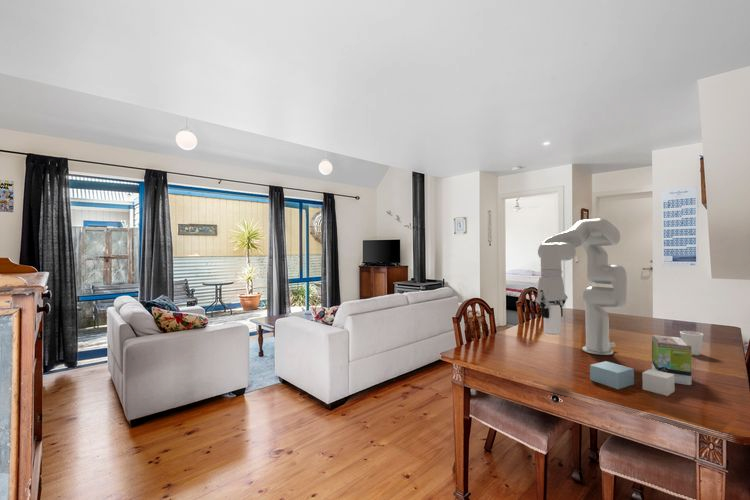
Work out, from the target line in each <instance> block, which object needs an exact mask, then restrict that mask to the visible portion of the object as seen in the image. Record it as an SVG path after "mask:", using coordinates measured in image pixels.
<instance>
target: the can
mask: <svg viewBox="0 0 750 500" xmlns="http://www.w3.org/2000/svg"><path fill="white" fill-rule="evenodd" d="M544 304H545V303H544ZM547 308H548V309H549V318H543V332H544V333H545V334H549V335H552V336H553V335H561V334H562V331H563V330H562V317H561V307H560V304H558V303H555V302H549V304H548V307H547Z"/></svg>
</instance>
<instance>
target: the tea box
mask: <svg viewBox="0 0 750 500" xmlns="http://www.w3.org/2000/svg"><path fill="white" fill-rule="evenodd" d="M692 356H693V355H692V350H691V345H690V344H689V343H687V342H686V341H685V340H684V339H683V338H681V337H677V336H668V335H667V336H666V335H665V336H664V335H657V334H652V335H651V369H653V370H657V371H661V372H666V373H670V374H674V382H675V384H679V385H686V386H691V385H692V380H693V379H692V371H693V370H692V360H693V359H692Z"/></svg>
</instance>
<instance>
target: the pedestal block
mask: <svg viewBox="0 0 750 500" xmlns="http://www.w3.org/2000/svg"><path fill="white" fill-rule="evenodd" d="M589 379H590V381H592V382H595V383H598V384H600V385H603V386H604V385H605V386H608V387H610V388H613V389H616V390H620V389H624V388H628V387H630V386H633V385H635V368H633V367H629V366H625V365H622V364H617V363H614V362H611V361H607V360H604V361H601V362H596V363H592V364H590V365H589Z"/></svg>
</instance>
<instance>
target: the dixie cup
mask: <svg viewBox="0 0 750 500" xmlns="http://www.w3.org/2000/svg"><path fill="white" fill-rule="evenodd" d="M679 333H680V338H683V339H684V340H685V341H686V342H687V343H689V344H690V345H691V350H692V355H691V356H700V355H701V351H702V345H703V344H702V343H703V338H704V337H703V336H704V334H703V333H702V332H699V331H698V332H697V331H690V330H681V331H679Z"/></svg>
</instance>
